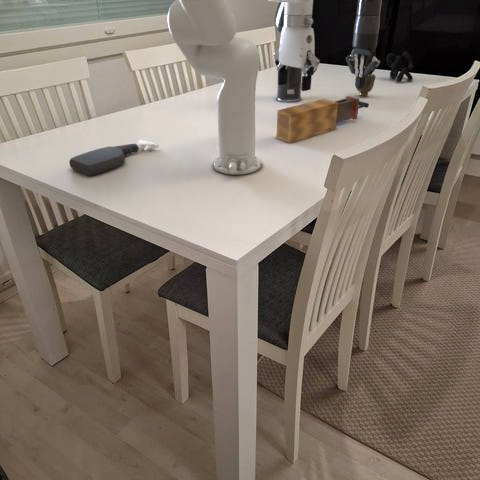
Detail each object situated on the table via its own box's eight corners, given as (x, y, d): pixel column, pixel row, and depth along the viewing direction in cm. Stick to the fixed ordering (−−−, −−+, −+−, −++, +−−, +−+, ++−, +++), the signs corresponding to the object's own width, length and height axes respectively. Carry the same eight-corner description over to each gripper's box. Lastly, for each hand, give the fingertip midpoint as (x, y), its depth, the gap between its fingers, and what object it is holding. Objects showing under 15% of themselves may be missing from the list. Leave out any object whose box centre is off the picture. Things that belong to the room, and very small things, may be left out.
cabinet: (321, 124, 148) (323, 98, 144) (335, 129, 144) (338, 102, 140) (276, 138, 138) (277, 110, 133) (290, 143, 134) (291, 114, 129)
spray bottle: (67, 168, 120) (139, 144, 136) (91, 178, 114) (163, 151, 130) (65, 157, 118) (137, 134, 134) (89, 167, 112) (162, 142, 128)
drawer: (357, 112, 156) (359, 93, 153) (368, 115, 153) (371, 95, 149) (306, 127, 143) (308, 106, 140) (317, 130, 140) (319, 109, 137)
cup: (351, 97, 177) (353, 76, 172) (356, 92, 182) (358, 72, 178) (370, 99, 174) (373, 77, 169) (374, 94, 179) (377, 73, 175)
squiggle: (400, 92, 202) (376, 71, 205) (417, 76, 202) (392, 56, 205) (405, 81, 191) (380, 59, 194) (423, 64, 191) (397, 42, 194)
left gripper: (331, 23, 117) (324, 90, 126) (285, 19, 128) (282, 80, 137) (311, 25, 113) (306, 94, 122) (266, 20, 124) (264, 84, 133)
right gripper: (391, 31, 136) (382, 90, 146) (357, 28, 145) (351, 83, 154) (376, 34, 132) (368, 93, 142) (341, 30, 141) (336, 86, 151)
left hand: (293, 87), depth 129 cm, fingers open, 9 cm apart
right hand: (359, 88), depth 148 cm, fingers closed
